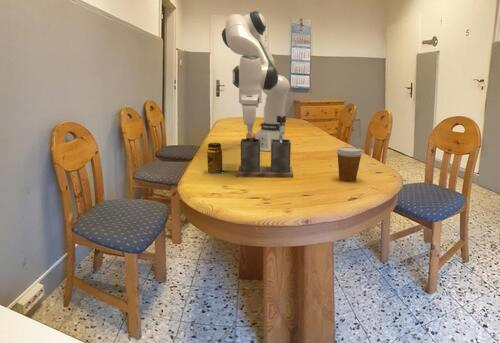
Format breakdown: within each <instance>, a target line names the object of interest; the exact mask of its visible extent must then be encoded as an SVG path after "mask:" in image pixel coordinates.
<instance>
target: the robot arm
mask: <svg viewBox="0 0 500 343" xmlns="http://www.w3.org/2000/svg"><path fill="white" fill-rule="evenodd" d="M266 25H267V24H266V20H265V17H264V16H263V14H261V13H260V12H259V11H257V10H254V11H251V12H249V13H248V14H246V15H242V14H239V13H235V14H234V13H233V14H230V16H228V17H227V19H226V22H225V28H224V29H223V30H222V31H221V37H222V41H223V43H224V44H225V46H226V47H227V48H228V49H230V50H231V52H233V53H234V54H237V55H240V61H239V64H238V65H236V66H235V67H234V68H233V69H232V84H233V86H235V87H236V88H237V89H238V103H239V104H240V105H241V108H242V110H241V111H242V119H243V124H244V126H246V128H247V129H246V130H247V133H248V134H252V133H253V129H254V124H255V121H256V118H257V117H256V116H257V115H256V114H257V113H256V112H257V108H259V105H260V104H261V103H262V101H263V100H262V98H263V96H262V94H263V93H264V94H265V95H266V99H265V102H264V103H265V104H264V107H263V122H262V123H259V127H260V129H259V130H258V131H256V132H255V133H254V134H255V139H260V152H271V139H279V131H280V123H279V122H277V116H280V115H282V116H286V115H285V112H286V110H285V109H286V103H287V99H288V93H289V91H290V88H291V84H290V81H289V80H288V79H287V77H285V76H284V75H280V74H279V73H278V70H277V67H276V65H275V59H274V57H273V55H272V52H271V51H270V49H269V47H268V45H267V43H266V41H265V38H263V35H264V32H266V28H267V26H266ZM285 133H286V122H285V123H283V133H282V139H285Z"/></svg>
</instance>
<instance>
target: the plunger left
mask: <svg viewBox="0 0 500 343" xmlns="http://www.w3.org/2000/svg"><path fill="white" fill-rule="evenodd" d="M245 136H246V137H245V139H246V140H248V141H249V142H252V141H253V140H255V133H254V132H252V134H248V132H247V133H246V135H245Z"/></svg>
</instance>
